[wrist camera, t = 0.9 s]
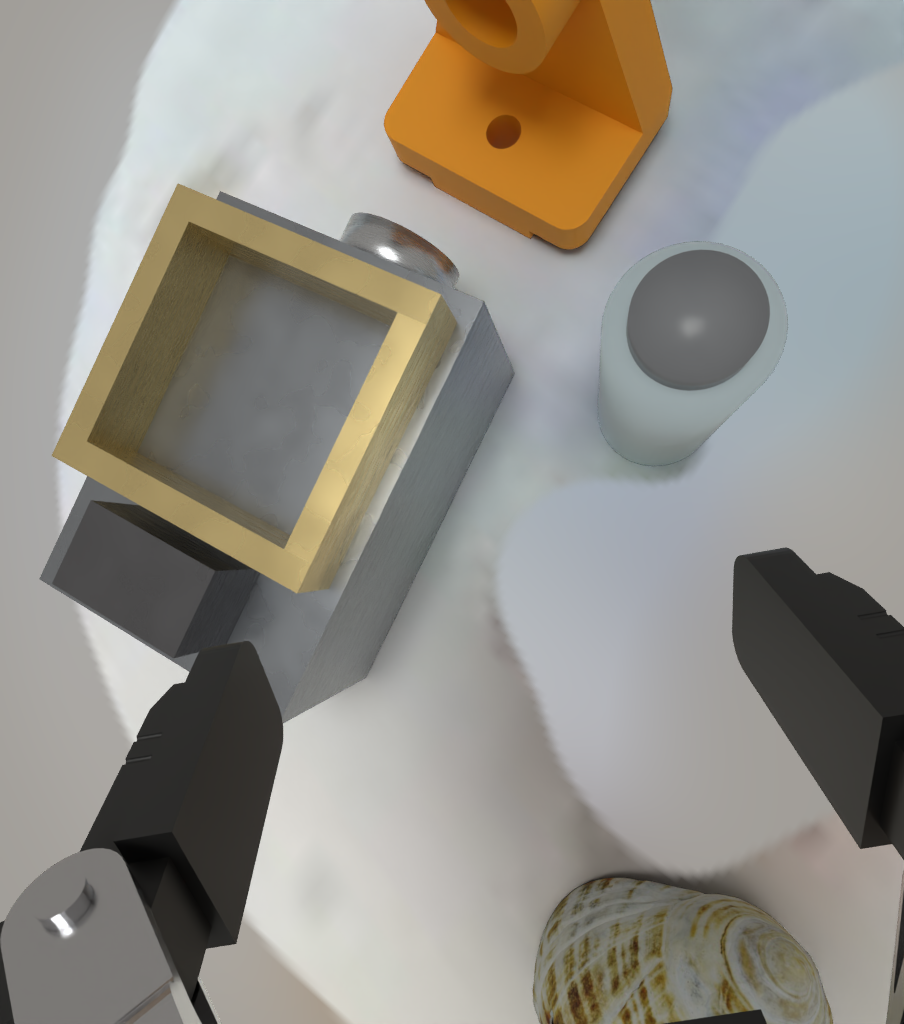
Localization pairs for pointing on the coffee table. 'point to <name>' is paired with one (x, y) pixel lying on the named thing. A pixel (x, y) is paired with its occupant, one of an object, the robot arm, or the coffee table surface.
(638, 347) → the bottle
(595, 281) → the coffee table surface
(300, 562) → the grey block with frame
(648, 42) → the bracket
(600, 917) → the seashell
